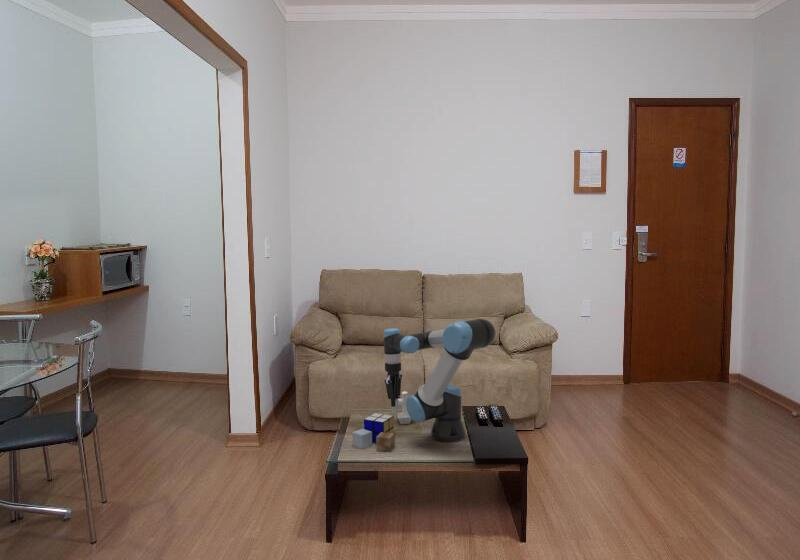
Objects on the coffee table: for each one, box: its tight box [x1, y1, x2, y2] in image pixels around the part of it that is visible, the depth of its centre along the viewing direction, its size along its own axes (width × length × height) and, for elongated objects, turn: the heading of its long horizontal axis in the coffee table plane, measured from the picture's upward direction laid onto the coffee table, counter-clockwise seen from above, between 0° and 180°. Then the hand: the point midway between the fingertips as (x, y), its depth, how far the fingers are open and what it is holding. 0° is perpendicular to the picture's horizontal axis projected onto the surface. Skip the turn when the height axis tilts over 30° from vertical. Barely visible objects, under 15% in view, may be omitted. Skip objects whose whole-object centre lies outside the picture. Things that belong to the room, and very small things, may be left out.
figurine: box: [397, 390, 413, 425], centre depth 277 cm, size 7×9×15 cm
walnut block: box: [375, 432, 396, 453], centre depth 245 cm, size 6×6×6 cm
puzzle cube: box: [363, 412, 395, 444], centre depth 256 cm, size 10×10×10 cm
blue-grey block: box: [351, 428, 373, 450], centre depth 249 cm, size 6×6×6 cm
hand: (394, 412), depth 267 cm, fingers closed
